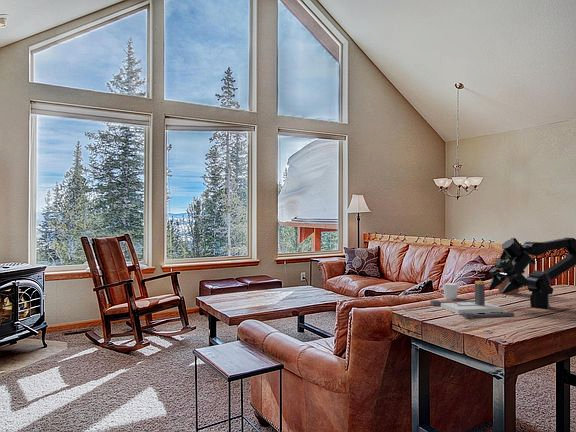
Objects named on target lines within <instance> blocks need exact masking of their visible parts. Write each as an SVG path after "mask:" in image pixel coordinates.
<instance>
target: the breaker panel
mask: <svg viewBox="0 0 576 432" xmlns="http://www.w3.org/2000/svg"><path fill="white" fill-rule="evenodd" d="M441 307H442V308H441ZM440 308H441V309H443V308H444V309H443V310H445V309H447V310H446V311H448V310H449V311H448V312H450V311H452V312H451V313H453V312H455V313H458V314H463V312H471V313H473V314H475V313H485V314H486V313H490V312H503V313H504V307H503V306H498V305H496V304H492V303H489V302H486V301H485V305H478V304H475V302H457V303H455V302H452V303H441V305H440ZM455 313H454V314H455ZM458 314H457V315H458Z"/></svg>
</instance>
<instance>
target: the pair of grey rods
mask: <svg viewBox="0 0 576 432" xmlns="http://www.w3.org/2000/svg"><path fill="white" fill-rule="evenodd" d="M452 302H455V303H457V302H475V299H474V300H469V299H468V300H452V301H451V300H450V301H449V300H448V301H440V300H438V299H431V300H430V305H431V306H433V305H439V306H441V303H452ZM498 316H500V317H514V316H515V313H514V312H509V311H508V312H503V313H485V314H473V313H471V312H463V315H462V318H463V317H465V318H464V319H467V318H473V319H475V318H477V319H479V318H497V317H498ZM478 317H479V318H478ZM467 320H468V319H467Z"/></svg>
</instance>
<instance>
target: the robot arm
mask: <svg viewBox="0 0 576 432" xmlns="http://www.w3.org/2000/svg"><path fill="white" fill-rule="evenodd" d="M501 249H502V250H503V251H505V252H506V253H507V254H508V255H509V256H510V257H515V258H514V260H513V261H512V260H510V259H506V260H503V259H500V258H496V259H495V262H494V264H493V265H494V266H493V267H497V266H498V267H500V268H501V270H502V271H503V273H502V272H501V271H500V270H499V269H493V268H491V269H490V270H489V274H490V276H491V277H490V278H491V280H490V282H489V285H488V288H487V289H488V290H489V291H493V290H494V289H495V288H498V287H497V286H498V285H500V284H501V283H502V281H504V280H505V278H506V279H509V282H508V284H507V285H506V287H505V288H504V289H503V291H502V293H503V294H502V295H507V294H506V293H508V292H510V291H513V290H515V289H518V288H519V289H522V288H524V287H525V288H526V287H527V290H528V292H531V295H530V297H529V299H530V300H529V301H530V302H529V305H530V307H532V308H537V309H539V308H540V309H545V310H546V309H549V308H550V307H551V305H550V295H553V292H554V288H553V287H552V286H551V283H552V281H553V280H554V279H556V278H557V277H559V276H560V275H562V274H564V273H565V272H567V271H569V270H570V269H572V268H573V267H575V266H576V238H575V237H563V238H558V239H553V240H547V241H525V242H523V244H521V243H520V242H519V241H518V239H517V238H516V237H511V238H510V239H508V240H506V241H505V242H503V243H502V244H501ZM561 249H566V251H567V256H565V257H564V258H562V259H561V260H559V261H558V262H556V263H554V264H553V265H551V266H550V267H548V268H547V269H545V270H544V271H542V270H536V269H535V270H533V271H532V272H531V273H530V274H529V273H528V274H527V277H526V276H525V275H524V274H525V273H526V271H525V269H526V268H527V267H528V265H534V266H535V265H536V260H535V258H534V257H532V256H536V257H539V256H541V255H543V254H546V253H547V252H548V251H555V250H561ZM521 273H523V275H522V274H521Z"/></svg>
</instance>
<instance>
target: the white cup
mask: <svg viewBox="0 0 576 432" xmlns="http://www.w3.org/2000/svg"><path fill="white" fill-rule="evenodd" d="M442 287H443V288H442V289H443V296H444V299H447V300H457V297H458V287H459V284H458V283H454V282H445V283H444V282H443V283H442Z"/></svg>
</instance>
